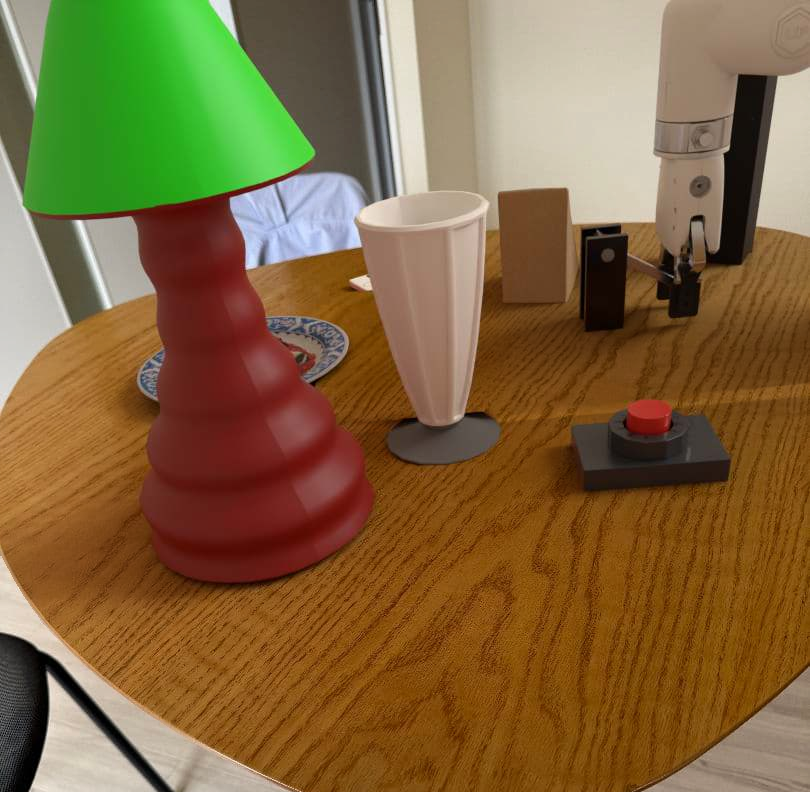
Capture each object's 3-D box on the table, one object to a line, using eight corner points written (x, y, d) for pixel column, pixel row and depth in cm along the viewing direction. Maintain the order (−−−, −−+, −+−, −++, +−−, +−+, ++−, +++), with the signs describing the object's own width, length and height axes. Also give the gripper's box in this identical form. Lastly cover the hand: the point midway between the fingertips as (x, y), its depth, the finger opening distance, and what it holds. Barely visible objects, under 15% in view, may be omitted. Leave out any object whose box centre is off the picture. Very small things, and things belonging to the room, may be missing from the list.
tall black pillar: (740, 275, 103) (775, 23, 87) (679, 271, 107) (702, 29, 90) (752, 256, 109) (787, 15, 92) (693, 253, 112) (717, 21, 96)
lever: (672, 288, 93) (684, 269, 91) (682, 303, 89) (695, 284, 87) (583, 245, 90) (594, 226, 89) (590, 259, 86) (602, 238, 85)
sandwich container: (582, 271, 111) (584, 157, 102) (568, 312, 100) (569, 187, 91) (522, 272, 114) (519, 161, 105) (501, 312, 102) (496, 190, 93)
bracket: (644, 315, 96) (651, 215, 89) (659, 341, 90) (667, 235, 83) (546, 325, 97) (545, 227, 90) (553, 350, 91) (553, 247, 84)
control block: (702, 435, 72) (707, 395, 70) (727, 481, 66) (734, 440, 63) (570, 445, 73) (571, 407, 71) (583, 492, 67) (584, 452, 65)
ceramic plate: (323, 317, 109) (320, 296, 107) (377, 387, 88) (373, 362, 87) (137, 360, 104) (130, 338, 102) (148, 444, 83) (140, 419, 82)
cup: (412, 478, 72) (380, 237, 59) (369, 428, 81) (334, 209, 68) (522, 443, 75) (515, 206, 62) (470, 398, 83) (454, 182, 71)
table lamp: (210, 624, 59) (-77, -182, 32) (121, 517, 72) (-131, -109, 46) (419, 515, 67) (328, -196, 40) (304, 438, 81) (180, -131, 54)
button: (664, 415, 69) (666, 397, 68) (674, 435, 66) (676, 416, 65) (622, 418, 69) (623, 400, 68) (630, 438, 66) (631, 420, 65)
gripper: (756, 147, 73) (731, 332, 84) (706, 117, 87) (690, 280, 98) (674, 156, 74) (659, 338, 85) (638, 126, 88) (629, 286, 99)
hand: (676, 305), depth 91 cm, fingers closed on lever, 5 cm apart
